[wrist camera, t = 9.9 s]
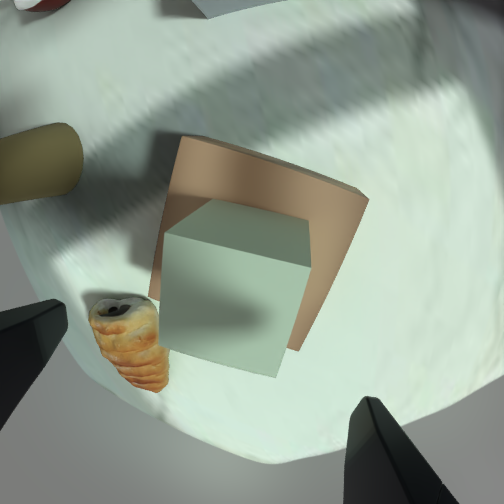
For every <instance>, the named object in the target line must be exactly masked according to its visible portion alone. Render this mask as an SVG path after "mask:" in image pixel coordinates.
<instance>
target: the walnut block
mask: <svg viewBox="0 0 504 504" xmlns="http://www.w3.org/2000/svg"><path fill="white" fill-rule="evenodd" d="M212 199H217V200H222V201H226V202H231V203H235V204H240V205H244V206H249V207H253V208H258V209H262V210H267V211H271V212H275V213H279V214H284V215H288V216H292V217H296V218H300V219H305V220H309V233H310V250H311V271H310V274H309V278H308V281H307V284H306V288H305V291H304V294H303V298H302V301H301V304H300V307H299V310H298V314H297V317H296V320H295V323H294V326H293V329H292V332H291V335H290V338H289V341H288V344H287V347H286V348H289V349H292V350H295V351H299V350H300V348H301V346H302V344H303V342H304V340H305V338H306V336H307V334H308V333H309V331H310V329H311V327H312V325H313V323H314V321H315V319H316V317H317V315H318V313H319V311H320V309H321V307H322V305H323V303H324V301H325V299H326V297H327V295H328V292H329V290H330V288H331V286H332V284H333V282H334V280H335V278H336V276H337V273H338V271H339V269H340V267H341V265H342V262H343V260H344V258H345V256H346V254H347V251H348V249H349V247H350V244H351V242H352V240H353V238H354V235H355V233H356V231H357V228H358V226H359V223H360V221H361V219H362V216H363V214H364V211H365V209H366V206H367V204H368V201H369V199H368V198H367V197H366V196H365V195H364V194H363V193H362V192H361V191H360V190H358V189H357V188H355V187H352V186H350V185H348V184H345V183H343V182H340V181H337V180H335V179H332V178H330V177H327V176H324V175H322V174H319V173H316V172H314V171H311V170H308V169H306V168H303V167H300V166H297V165H294V164H291V163H289V162H286V161H283V160H280V159H277V158H274V157H271V156H268V155H265V154H262V153H259V152H256V151H252V150H249V149H246V148H243V147H239V146H236V145H233V144H229V143H226V142H223V141H219V140H216V139H212V138H209V137H205V136H182V138H181V142H180V145H179V149H178V153H177V157H176V160H175V164H174V168H173V172H172V176H171V181H170V185H169V189H168V193H167V198H166V202H165V207H164V211H163V216H162V221H161V226H160V230H159V235H158V241H157V246H156V251H155V257H154V262H153V268H152V274H151V280H150V286H149V293H148V297H150V298H152V299H155V300H157V301H160V287H161V271H162V257H163V244H164V233H165V232H166V231H167V230H169V229H170V228H172V227H173V226H174V225H176V224H177V223H179V222H180V221H181V220H183V219H184V218H186V217H187V216H189V215H190V214H191V213H193V212H194V211H196V210H197V209H199V208H200V207H202V206H203V205H204V204H206V203H207V202H209V201H210V200H212Z"/></svg>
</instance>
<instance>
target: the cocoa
mask: <svg viewBox="0 0 504 504" xmlns="http://www.w3.org/2000/svg"><path fill="white" fill-rule="evenodd" d="M69 1H70V0H14V3H15V6H16V8H17V9H18V10H26V11H31V12H43V11H51V10H55V9H57V8H59V7H61V6H63V5H64V4H66V3H68V2H69Z"/></svg>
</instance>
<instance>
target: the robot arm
mask: <svg viewBox="0 0 504 504" xmlns="http://www.w3.org/2000/svg"><path fill="white" fill-rule="evenodd" d="M67 329H68V319H67V312H66V306H65V304H64V303H63V302H61V301H59V300H57V299H50V300H46V301H42V302H38V303H34V304H30V305H26V306H22V307H18V308H14V309H10V310H6V311H2V312H0V431H1V429H2V428H3V426H4V425H5V423H6V422H7V420H8V418H9V417H10V415H11V414H12V412H13V411H14V409H15V408H16V407H17V405H18V404H19V402H20V401H21V399H22V398H23V396H24V395H25V394H26V392H27V391H28V389H29V388H30V386H31V385H32V384H33V382H34V381H35V379H36V378H37V377H38V375H39V374H40V373H41V371H42V370H43V368H44V367H45V366H46V364H47V362H48V361H49V359H50V357H51V356H52V354H53V352H54V351H55V349H56V347H57V346H58V344H59V343H60V341H61V339H62V338H63V336H64V335H65V333H66V331H67ZM343 499H344V500H343V504H459V503H458V502H457V501H456V499H455V498H454V496H453V495H452V494H451V493H450V491H449V490H448V489H447V487H446V486H445V485H444V484H442V481H441V479H440V478H439V477H438V475H437V474H436V473H435V471H434V470H433V469H432V468H431V466H430V465H429V464H428V462H427V461H426V460H425V458H424V457H423V456H422V455H421V453H420V452H419V450H418V449H417V448H416V446H415V445H414V444H413V442H412V441H411V440H410V439H409V437H408V436H407V435H406V433H405V432H404V431H403V429H402V428H401V427H400V425H399V424H398V423H397V421H396V420H395V419H394V418H393V416H392V415H391V414H390V412H389V411H388V410H387V408H386V407H385V406H384V405H383V403H382V402H381V401H380V399H378V398H376V397H370V396H365V397H363V398H362V400H361V401H360V403H359V404H358V405H357V407H356V408H355V410H354V411H353V413H352V414H351V417H350V421H349V430H348V440H347V448H346V456H345V465H344V498H343Z"/></svg>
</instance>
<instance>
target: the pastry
mask: <svg viewBox="0 0 504 504" xmlns="http://www.w3.org/2000/svg"><path fill="white" fill-rule="evenodd" d="M88 321H89V323H90V325H91V326H92V329H93V333H94V336H95V339H96V342H97V344H98V345H99V347H100V351H101V354H102V355H103V357H105V358H107V359H108V360H109V361H110V362H111V363H112V364H113V365H114V366H115V367H116V368H117V370H118V372H119V374H120V375H121V376H122V377H124V378H125V379H126V380H127V381H128V382H130V383H131V384H132V385H133V386H135V387H137V388H141V389H145V390H149V391H152V392H155V393H158V392H160V391H161V390H162V389H163V388H164V387H165V386H166V385H167V384H168V381H169V378H168V375H169V371H168V370H169V358H168V357H169V352H170V349H168V348H165V347H162V346H159V345H158V341H159V314H158V312H157V309H156V307H155V306H154V304H153V303H152V302H151V301H149V300H144V299H142V298H136V297H131V298H126V299H122V300H115V299H102V300H100V301H99V302H97V303H96V304H95V305H94V306H93V307H92V309H91V310H90V313H89V319H88Z"/></svg>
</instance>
